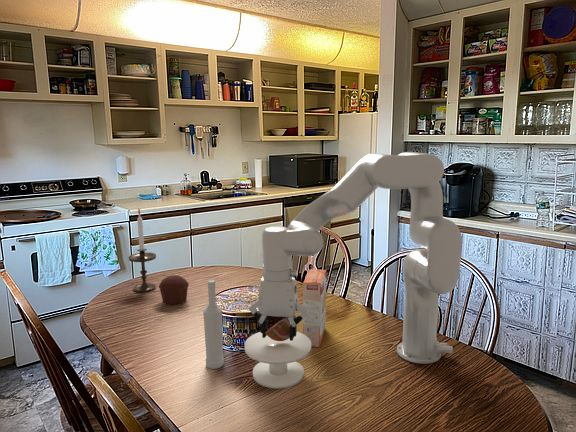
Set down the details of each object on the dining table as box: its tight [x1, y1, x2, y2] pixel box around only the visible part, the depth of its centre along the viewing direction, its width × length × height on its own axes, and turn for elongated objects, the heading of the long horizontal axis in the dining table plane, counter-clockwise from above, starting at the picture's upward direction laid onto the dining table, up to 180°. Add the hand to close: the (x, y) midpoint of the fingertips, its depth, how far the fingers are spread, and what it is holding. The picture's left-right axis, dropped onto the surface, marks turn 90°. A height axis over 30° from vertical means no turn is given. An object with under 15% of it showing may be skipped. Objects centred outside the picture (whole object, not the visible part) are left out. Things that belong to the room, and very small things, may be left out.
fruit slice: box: [265, 317, 291, 341], centre depth 120 cm, size 8×7×5 cm
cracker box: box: [302, 268, 327, 348], centre depth 142 cm, size 14×6×21 cm, turn 168°
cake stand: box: [244, 331, 312, 390], centre depth 122 cm, size 18×18×9 cm
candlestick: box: [128, 207, 157, 294], centre depth 186 cm, size 11×11×35 cm
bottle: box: [202, 279, 225, 370], centre depth 126 cm, size 5×5×25 cm
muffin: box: [158, 275, 190, 306], centre depth 175 cm, size 12×11×10 cm
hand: (278, 336), depth 121 cm, fingers closed on fruit slice, 6 cm apart
